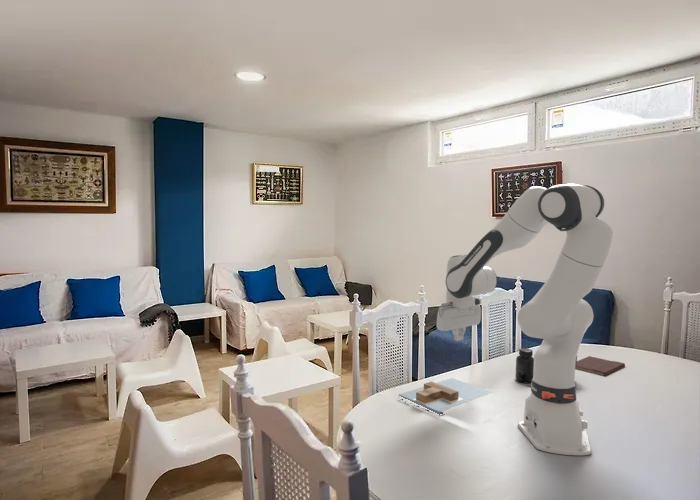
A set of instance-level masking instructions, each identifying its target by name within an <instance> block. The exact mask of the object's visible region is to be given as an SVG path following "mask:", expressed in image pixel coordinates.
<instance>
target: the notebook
mask: <svg viewBox="0 0 700 500" xmlns="http://www.w3.org/2000/svg"><path fill="white" fill-rule="evenodd" d="M625 365H626V364H625V363H624V362H620V361H616V360H607V359H605V358H600V357H599V358H598V357H595V356H590V355H589V356H586V357H584V358H581V359H579V360H577V361H576V367H575V370H579V371H582V372H588V373H590V374H591V373H592V374H595V375H600V376H602V377H603V376H604V377H607V376H609V375H610V374H613V373H615V372H617V371H619V370H621V369H623V368H624V367H626V366H625Z"/></svg>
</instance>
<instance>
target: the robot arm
mask: <svg viewBox="0 0 700 500" xmlns="http://www.w3.org/2000/svg"><path fill="white" fill-rule="evenodd" d="M604 208H605V199H604V195H603V193H601V192H600V191H599V190H598V189H597V188H596V187H593V186H592V185H591V186H590V185H587V184H586V185H584V184H583V185H582V184H577V183H567V184H556V185H552V186H551V187H548V188H546V187H544V186H537V185H536V186H534V185H533V186H530V187H528V188H527V189H526V190H525V191H524V192H523V193H522V194H521V195H520V196H519V197H518V198H517V199H516V200H515V201H514V202H513V204H511V207H510V208H509V209H508V211H507V212H506V213H505V214H504V216H503V217H502V218H501V219H500V220H499V221H498V223H497V224H496V225H495V226H494V227H493V228H491V230H490V231H488V232H487V233H486V234H484V236H482V238H481V239H480V240H479V241H478V242H477V243H476V245H475V246H474V247H472V249H471V250H470V252H468V254H459V255H458V254H457V255H453V256H451V257H449V258H448V261H447V266H446V276H445V286H446V296H445V297H446V298H445V300H446V302H444V303H441V304H440V305H439V307H438V310H437V315H436V330H439V331H442V332H447V331H451V332H452V334H453V340H454V341H456V342H458V341H464V335H465V332H466V329H467V328H468V327H471V326H472V327H473V326H477V325H479V324H480V323H481V318H482V308H481V306H480V305H481V304H482V299H481V298H480V297H476V296H480V295H487V294H491V293H492V292H493V291H495V289H496V287H497V285H498V284H497V283H498V277H497V274H496V272H495V270H494V269H493V268H492V267H490V266H487V264H488V263H489V262H490V261H491V260H492V259H494V258H496V257H497V256H499V255H501V254H503V253H507V252H509V251H513V250H517V249H521V248H524V247H526V246H527V245H528V244H530V243H531V242H532V241H533V240H534V239H535V238H536V237H537V235H538V234H539V233H540V232H541V231H542V229H543V228H544V227H545V226H546V224H547V223H549V224H551V225H553V226H554V227H555V228H556V229H557V230H558V231H559V232H566V237H565V241H564V244H563V246H562V248H561V250H560V253H559V255H558V258H557V260H556V262H555V264H554V266H553V269H552V271H551V272H550V274H549V277H548V278H547V279H546V280H545V282H544V284H543V285H542V286H541V287H540V289H539V290H538V291H537V293H535V295H534V296H533V297H532V299H530V300H529V301H528V302H526V303H525V304H524V305H522V306H521V307H520V309H519V310H518V313H517V324H518V327H519V329H520V330H521V332H522V333H523V334H524V335H526V336H528V337H530V338H536V339H541V340H542V339H543V340H542V342H541V344H540V345H539V347H538V348H537V349H536V351H535V352H534V354H533V358H534V371H533V379H532V382H531V383H530V387H531V388H530V392H531V393H530V395H529V396H527V397H526V398H525V399H524V400H525V403H524V411H523V413H524V414H523V420H521V421H518V423H517V427H518V428H519V430H521V432H522V433H523V435H525V437H526V438H527V439H528V440H529V442H530V443H531V444H532V445H533V447H535V449H537V450H540V451H543V452H546V453H551V454H557V455H565V456H587V455H588V456H589V455H591V454H592V449H591V444H590V441H589V436H588V432H587V430H588V421H587V420H582V419H581V417H583V416H584V412H583V411H582V410H580V407H579V406H580V402H579V401H577V387H576V384H575V378H576V376H575V375H576V369H575V363H576V357H577V358H578V356H577V355H578V353H579V352H578V351H579V349H580V347H581V343H582V341H583V337H584V335H585V333H586V332H587V330H588V328H589V327H590V326H591V325H592V323H593V322H594V317H595V316H594V311H593V307H592V306H591V305H590V303H588V301H587V300H585V299H583V298H584V297H586V296H587V295H588V294H590V293H591V291H592V290H593V288H594V287H595V286H594V285H595V284H596V282H597V279H598V277H599V276H600V273H601V271H602V268H603V267H604V264H605V261H606V259H607V257H608V254H609V250H610V248H611V244H612V242H613V241H612V239H613V236H614V235H613V229H612V227H611V226H610V225H609V224H608V223H607V222H606V221H603V219H599V218H598V217H599V216H601V214H602V212H603V211H604Z"/></svg>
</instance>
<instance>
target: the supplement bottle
mask: <svg viewBox="0 0 700 500" xmlns="http://www.w3.org/2000/svg"><path fill="white" fill-rule="evenodd" d="M533 371H534V354H533V349H530V348H522V347H521V348H519V349H518V355H517V356H516V358H515V380H516V381H517V382H519V383H523V384H531V382H532V379H533Z"/></svg>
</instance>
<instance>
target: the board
mask: <svg viewBox="0 0 700 500" xmlns="http://www.w3.org/2000/svg"><path fill="white" fill-rule="evenodd" d="M436 383H437V384H440V385H443V386H445V387H448V388H451V389H453V390H456V391H459V397H458V399H456V400H453V401H448V400H446V399H443V398H439V399H436V400H433V401H430V402H427V403H423V402H421V401H418V400H416V392H419V391H422V390H424V386H422V387H419V388H415V389H412V390H410V391H406V392H403V393H399V394H398V397H399V396H401V397H403V398H405V399H408V400H410V401H412V402H414V403H416V404H418V405H421V406H423V407H425V408H427V409H429V410H431V411H433V412H435V413H437V414H439V415H440V414H443V413H444V411H445V410H446V411H447V410H448V409H451V408H454V407H456V406H460V405H462V404H464V403H467V402H470V401H473V400H476V399H479V398H480V397H481V398H482V397H483V396H485V395H489V394H491V393H493V391H491V390H488V389H485V388H482V387H480V386H477V385H473V384H471V383H469V382H465V381H462V380H460V379H456V378H453V377H450V378H447V379H445V380H441V381H439V382H436Z"/></svg>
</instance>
